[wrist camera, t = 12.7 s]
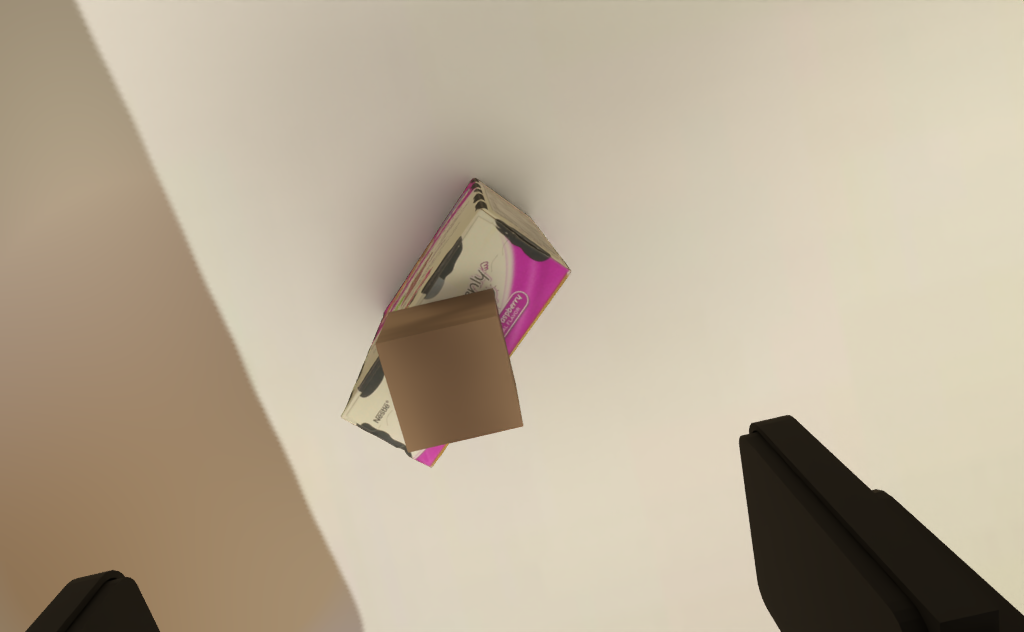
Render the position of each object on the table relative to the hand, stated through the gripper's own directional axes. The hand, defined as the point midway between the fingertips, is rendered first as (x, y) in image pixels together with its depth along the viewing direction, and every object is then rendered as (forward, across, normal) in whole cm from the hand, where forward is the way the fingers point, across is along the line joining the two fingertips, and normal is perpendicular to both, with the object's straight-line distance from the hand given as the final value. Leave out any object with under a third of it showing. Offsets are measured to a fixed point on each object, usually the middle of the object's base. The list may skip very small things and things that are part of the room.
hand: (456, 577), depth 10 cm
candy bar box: (+34, +1, +2) cm, 34 cm away
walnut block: (+18, +1, +2) cm, 18 cm away
